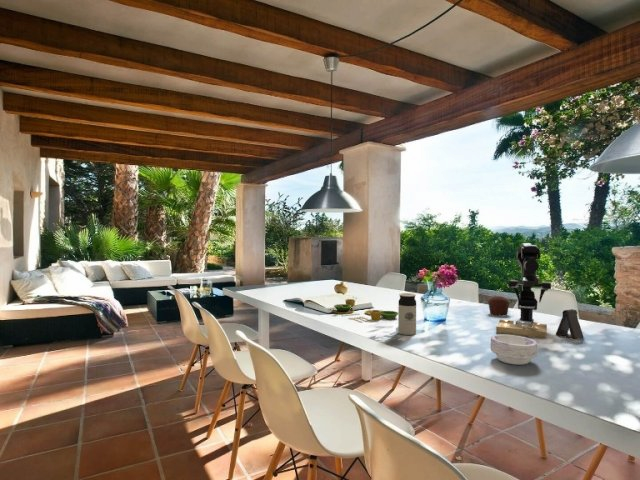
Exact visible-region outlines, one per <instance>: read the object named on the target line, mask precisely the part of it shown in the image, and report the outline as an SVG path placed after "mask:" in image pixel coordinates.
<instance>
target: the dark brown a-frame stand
mask: <svg viewBox="0 0 640 480" xmlns="http://www.w3.org/2000/svg"><path fill="white" fill-rule="evenodd" d="M561 314H562V317H561V320H560V322H559V325H558V327H557V330H556V332H555V336H557V337H562V338H567V339H571V340H574V341H575V340H580V339H584V338H585V337H584V333H583V331H582V327H581V325H580V321H579V319H578V311H577V310H576V309H573V308H571V309H565V310H564V309H563V311H562V313H561Z"/></svg>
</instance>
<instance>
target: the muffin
mask: <svg viewBox="0 0 640 480" xmlns="http://www.w3.org/2000/svg"><path fill="white" fill-rule="evenodd" d="M487 304H488V308H489V314H490V313H491V315H492V314H493V315H494V316H499V315H501V316H502V315H506V316H507V315H508V313H509V308H510V307H509V306H510V304H511V303H510V301H509V300H508V298H506V297H504V296H501V295H494V296H492V297H490V298H489V299H488V301H487ZM493 315H492V316H493ZM502 317H503V316H502Z"/></svg>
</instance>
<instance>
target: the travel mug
mask: <svg viewBox="0 0 640 480" xmlns="http://www.w3.org/2000/svg"><path fill="white" fill-rule="evenodd" d="M416 295H417V294H415V293H409V292H402V293H399V300H398V306H397V307H398V308H397V310H398V311H397V312H398V315H397V316H398V320H397V323H398V324H397V325H398V327H397V328H398V329H397V330H398V331H397V332H398V333H399V334H400V335H402V334H403V335H404V336H413V335H415V334H417V300H416Z"/></svg>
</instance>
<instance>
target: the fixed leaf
mask: <svg viewBox="0 0 640 480" xmlns="http://www.w3.org/2000/svg"><path fill="white" fill-rule="evenodd" d="M547 325H548V324H546V323H536V322H531V326H526V325H517V324H515V323H514V320H507V319H499V321H498V323H497V325H496V326H495V328H496V330H495V333H496V334H500V335H515V336H521V337H526V338H536V339H546V338H547V332H548V328H547V327H548V326H547Z"/></svg>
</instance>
